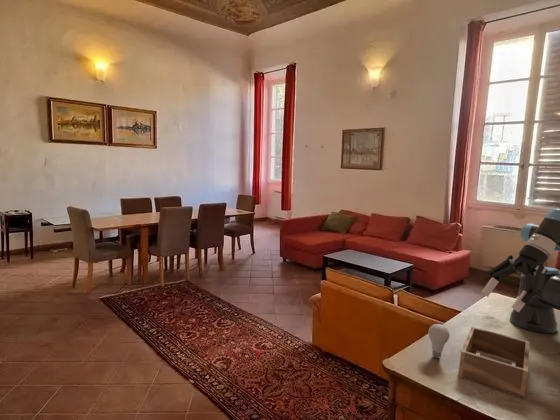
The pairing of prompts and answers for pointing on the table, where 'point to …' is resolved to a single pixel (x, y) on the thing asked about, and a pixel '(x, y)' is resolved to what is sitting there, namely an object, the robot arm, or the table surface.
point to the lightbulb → (438, 338)
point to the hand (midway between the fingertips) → (498, 301)
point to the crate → (495, 361)
